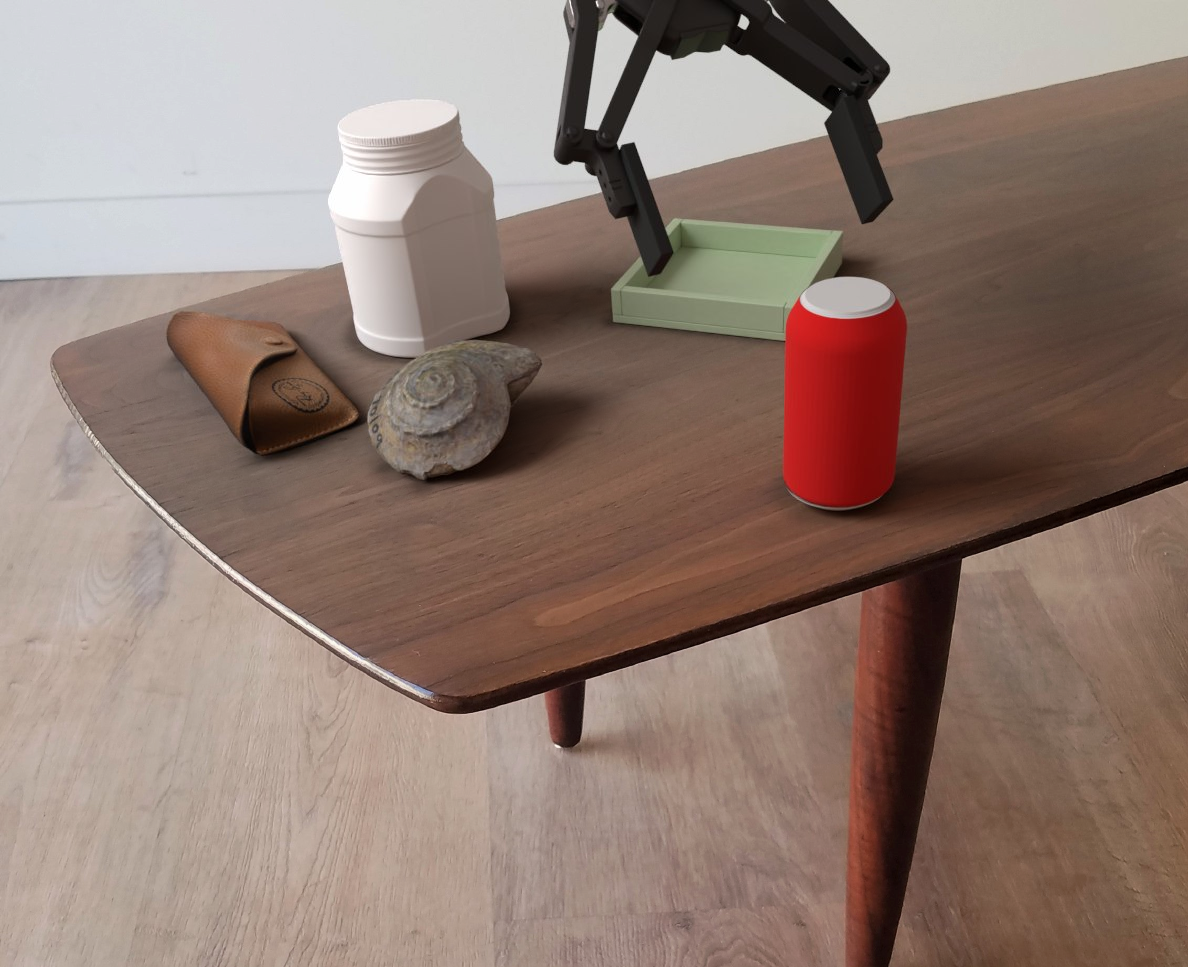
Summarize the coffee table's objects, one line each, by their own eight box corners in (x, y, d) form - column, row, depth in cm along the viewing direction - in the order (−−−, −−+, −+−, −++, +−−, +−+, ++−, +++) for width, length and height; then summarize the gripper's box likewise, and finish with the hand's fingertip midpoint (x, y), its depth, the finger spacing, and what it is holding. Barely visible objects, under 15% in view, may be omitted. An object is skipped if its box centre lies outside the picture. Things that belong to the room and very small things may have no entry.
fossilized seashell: (339, 407, 79) (361, 310, 75) (478, 403, 85) (506, 314, 81) (411, 505, 73) (440, 405, 69) (555, 494, 79) (589, 401, 75)
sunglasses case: (370, 413, 80) (301, 349, 76) (296, 490, 80) (223, 431, 75) (278, 321, 93) (214, 261, 88) (214, 387, 93) (146, 331, 88)
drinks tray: (842, 263, 94) (843, 230, 93) (794, 342, 85) (795, 307, 83) (675, 249, 99) (674, 217, 97) (612, 322, 89) (610, 289, 88)
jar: (467, 280, 97) (437, 84, 88) (532, 319, 91) (507, 111, 82) (336, 326, 92) (290, 123, 83) (395, 370, 86) (352, 155, 77)
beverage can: (767, 473, 72) (769, 281, 65) (867, 453, 73) (880, 261, 65) (805, 530, 67) (811, 329, 60) (911, 508, 68) (930, 307, 61)
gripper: (813, -88, 77) (931, 221, 75) (434, -24, 71) (551, 315, 69) (864, -180, 70) (995, 159, 68) (446, -118, 63) (577, 258, 61)
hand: (772, 238), depth 68 cm, fingers open, 13 cm apart
